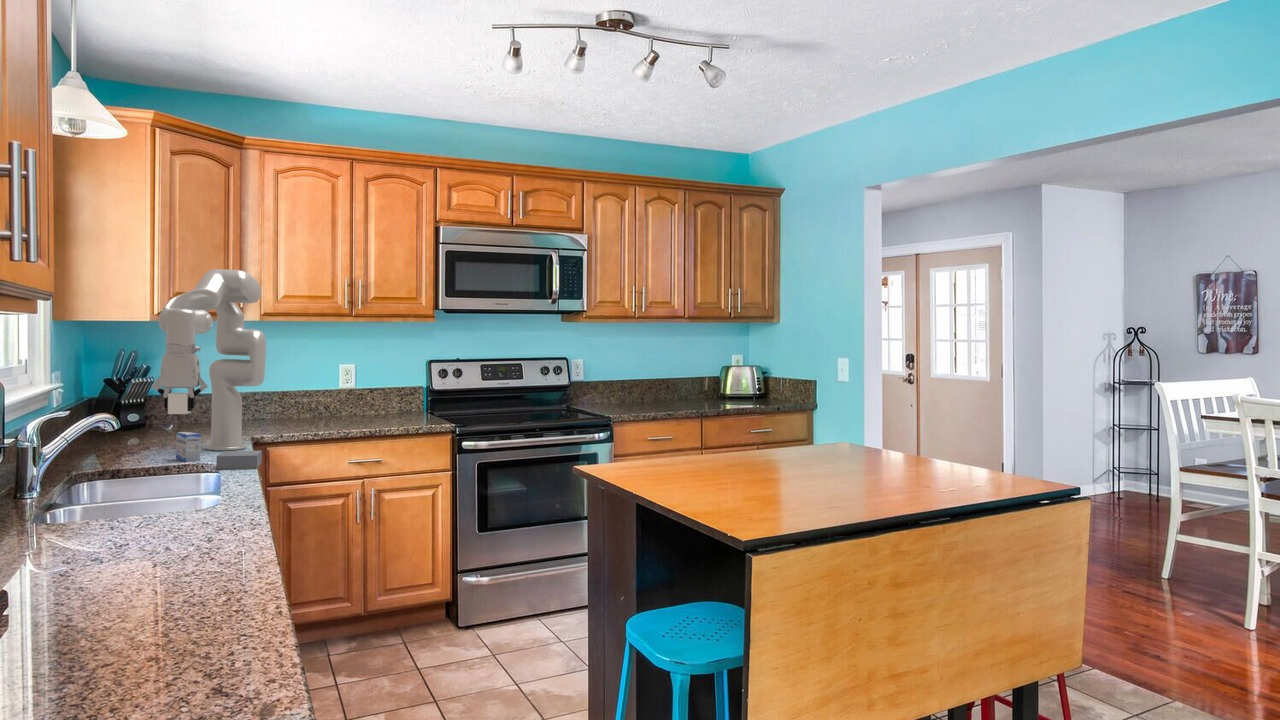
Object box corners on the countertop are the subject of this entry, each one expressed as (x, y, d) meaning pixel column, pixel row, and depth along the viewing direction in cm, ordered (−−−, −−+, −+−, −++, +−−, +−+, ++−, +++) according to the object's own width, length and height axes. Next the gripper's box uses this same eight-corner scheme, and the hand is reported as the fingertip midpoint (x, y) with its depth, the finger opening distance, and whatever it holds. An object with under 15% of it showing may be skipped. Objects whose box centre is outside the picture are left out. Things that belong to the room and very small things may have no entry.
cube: (172, 412, 237) (172, 392, 237) (190, 412, 239) (191, 392, 239) (167, 414, 232) (168, 393, 232) (186, 414, 234) (187, 393, 234)
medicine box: (175, 459, 251) (175, 432, 251) (190, 458, 255) (190, 431, 255) (185, 462, 247) (186, 434, 246) (200, 460, 250) (201, 433, 250)
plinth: (222, 463, 245) (222, 451, 245) (261, 463, 248) (261, 450, 248) (216, 469, 234) (216, 456, 234) (257, 468, 238) (257, 455, 238)
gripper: (214, 350, 241) (213, 409, 242) (151, 349, 236) (150, 409, 237) (209, 351, 234) (208, 412, 235) (144, 349, 229) (143, 412, 229)
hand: (179, 410), depth 236 cm, fingers closed on cube, 5 cm apart
